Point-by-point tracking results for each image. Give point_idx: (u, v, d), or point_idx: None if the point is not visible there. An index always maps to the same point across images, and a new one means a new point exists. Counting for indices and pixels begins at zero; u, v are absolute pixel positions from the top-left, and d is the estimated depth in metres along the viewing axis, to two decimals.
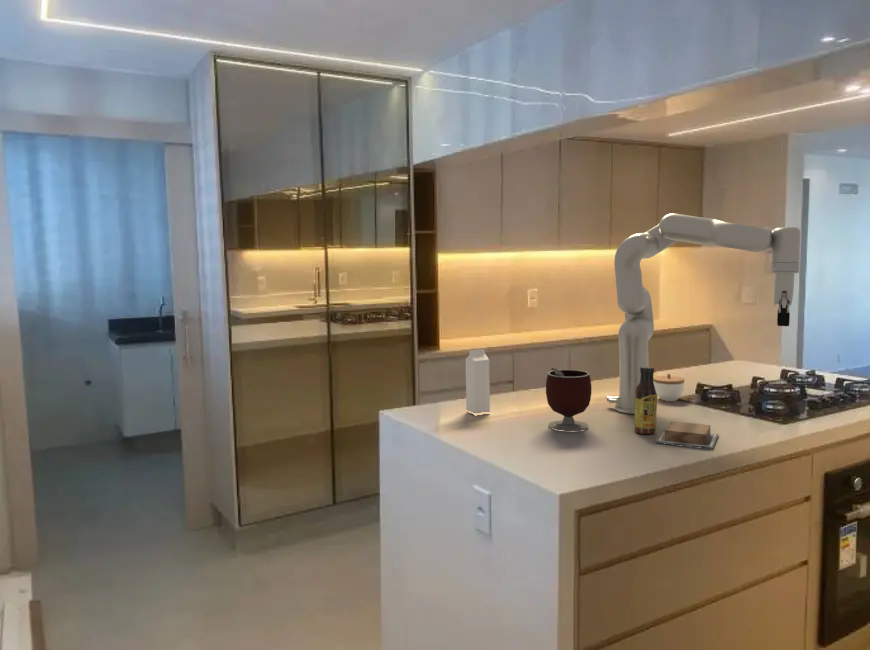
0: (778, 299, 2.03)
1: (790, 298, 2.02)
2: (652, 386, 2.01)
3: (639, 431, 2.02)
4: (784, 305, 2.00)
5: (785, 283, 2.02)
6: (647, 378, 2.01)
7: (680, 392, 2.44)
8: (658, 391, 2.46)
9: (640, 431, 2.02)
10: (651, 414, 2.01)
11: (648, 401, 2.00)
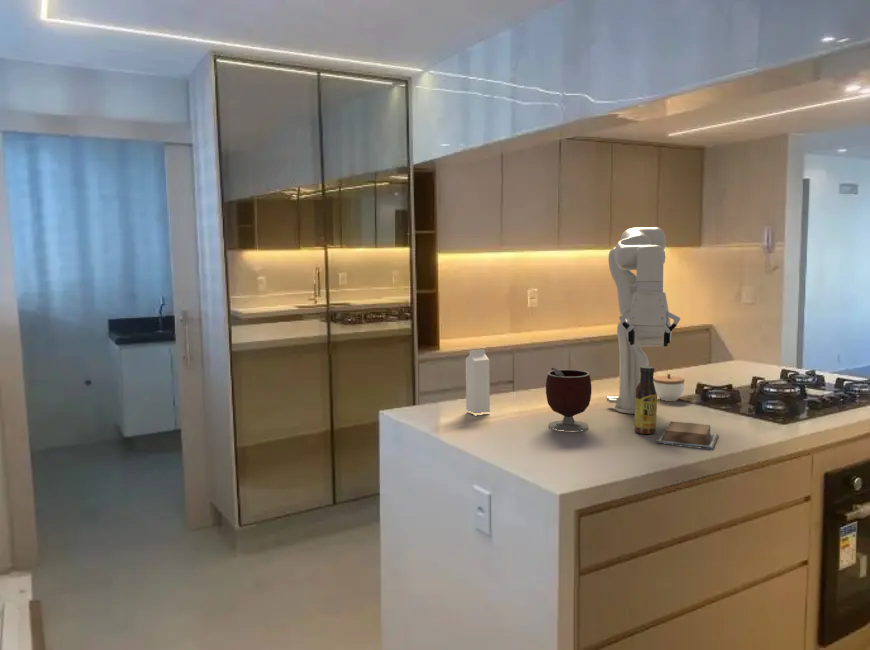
0: (666, 319, 1.97)
1: None
2: (652, 386, 2.01)
3: (639, 431, 2.02)
4: None
5: (666, 302, 1.98)
6: (647, 378, 2.01)
7: (680, 392, 2.44)
8: (658, 391, 2.46)
9: (640, 431, 2.02)
10: (651, 414, 2.01)
11: (648, 401, 2.00)
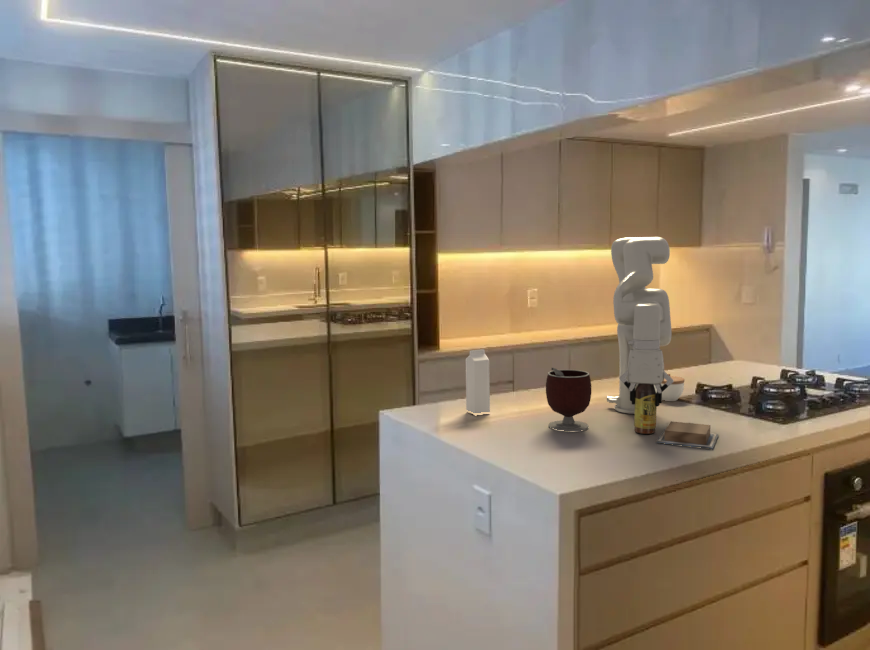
0: None
1: None
2: (652, 386, 2.01)
3: (639, 431, 2.02)
4: (668, 385, 2.00)
5: (663, 360, 2.00)
6: None
7: (680, 392, 2.44)
8: None
9: (640, 431, 2.02)
10: (651, 413, 2.01)
11: (648, 401, 2.00)
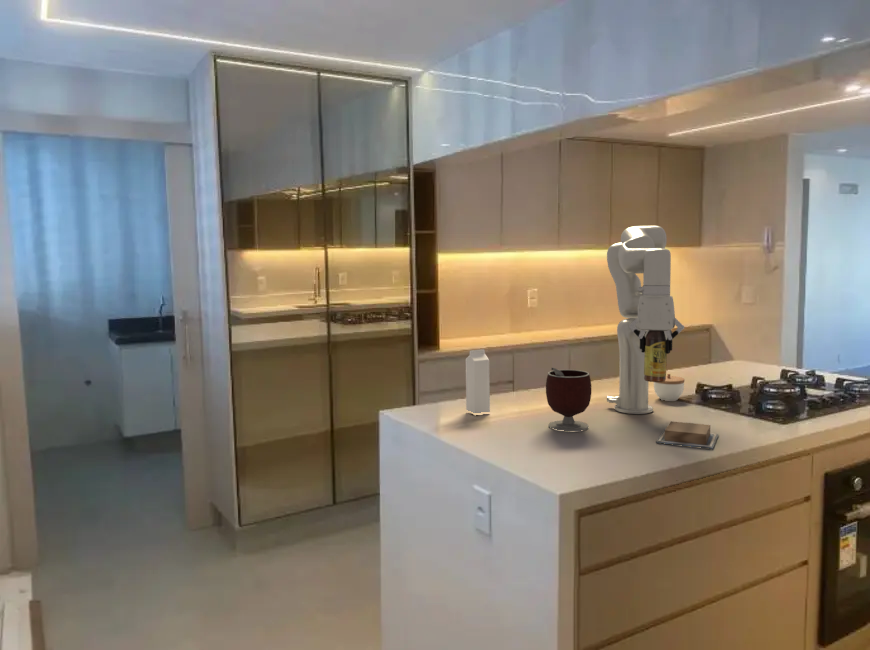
0: None
1: None
2: (662, 333, 1.97)
3: (649, 379, 1.99)
4: (679, 332, 1.96)
5: None
6: None
7: (680, 392, 2.44)
8: (658, 391, 2.46)
9: (650, 379, 1.98)
10: (661, 361, 1.97)
11: (658, 348, 1.97)
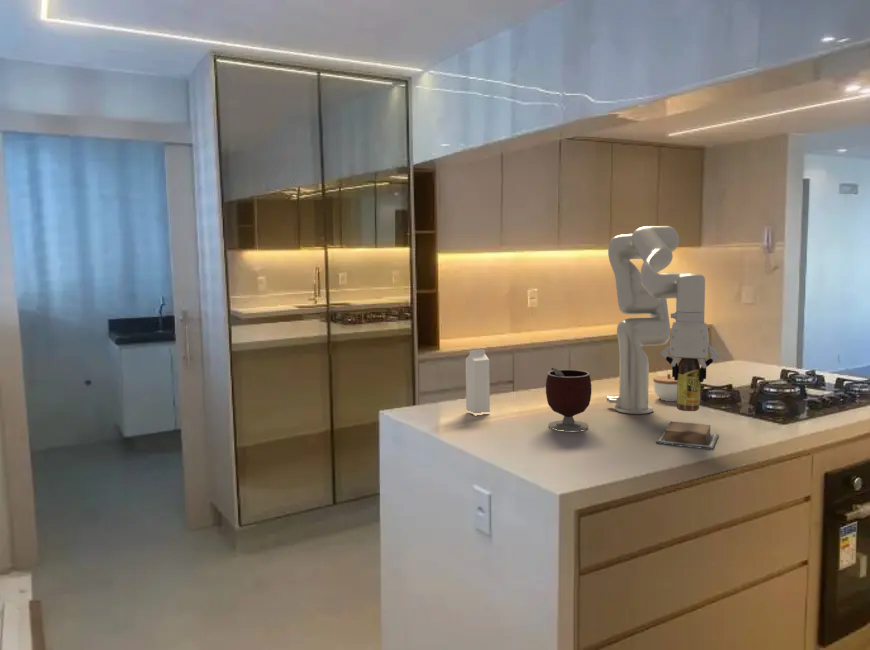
0: None
1: None
2: (696, 361, 1.91)
3: (682, 408, 1.92)
4: None
5: None
6: None
7: None
8: (658, 391, 2.46)
9: (683, 408, 1.92)
10: (695, 389, 1.91)
11: (692, 376, 1.91)
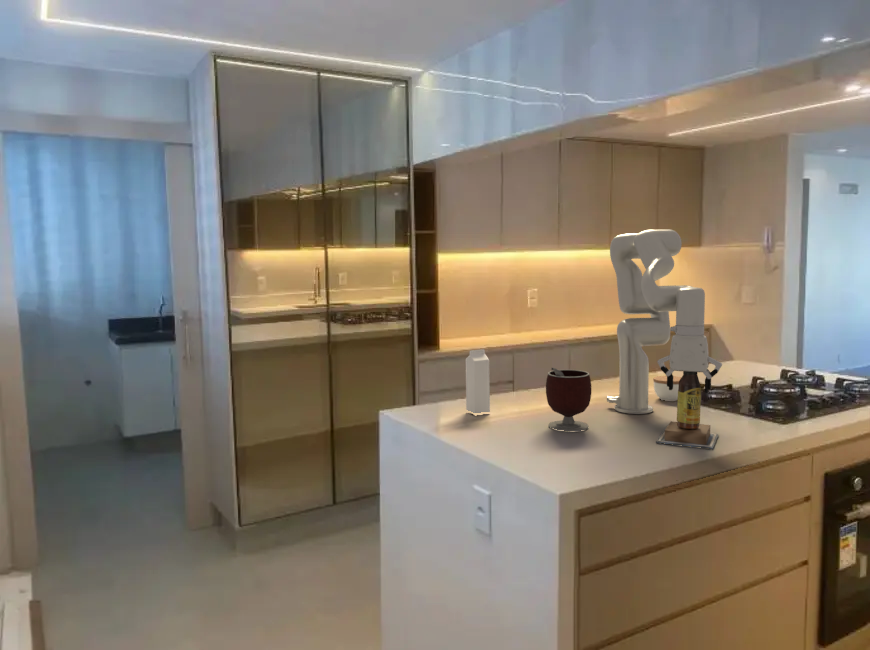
0: (707, 365, 1.90)
1: None
2: (696, 379, 1.92)
3: (682, 426, 1.93)
4: (718, 370, 1.90)
5: None
6: None
7: None
8: (658, 391, 2.46)
9: (683, 426, 1.93)
10: (695, 408, 1.92)
11: (692, 394, 1.91)
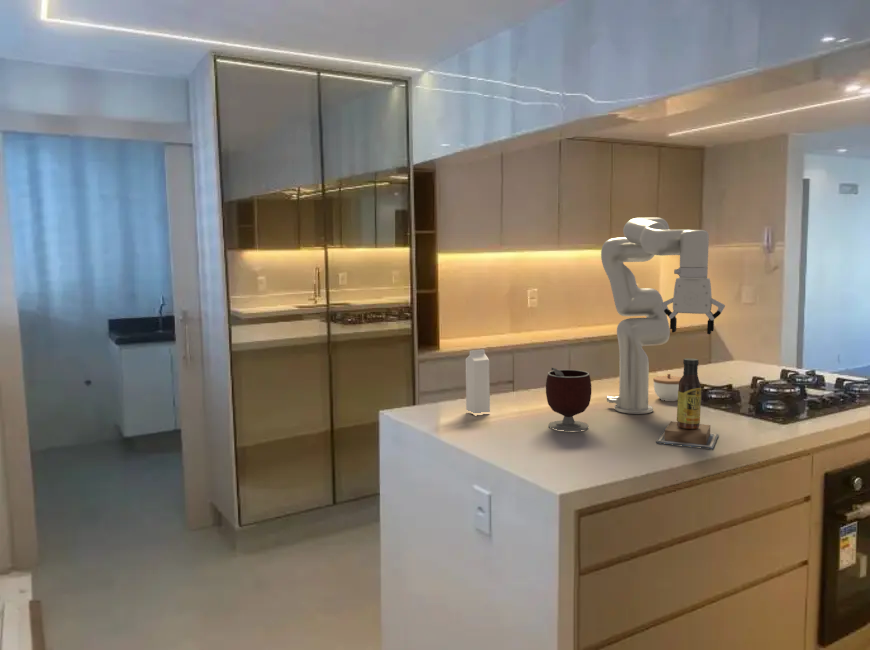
0: (710, 306, 1.92)
1: None
2: (696, 379, 1.92)
3: (682, 426, 1.93)
4: (721, 311, 1.92)
5: None
6: (691, 370, 1.92)
7: None
8: (658, 391, 2.46)
9: (683, 426, 1.93)
10: (695, 408, 1.92)
11: (692, 394, 1.91)
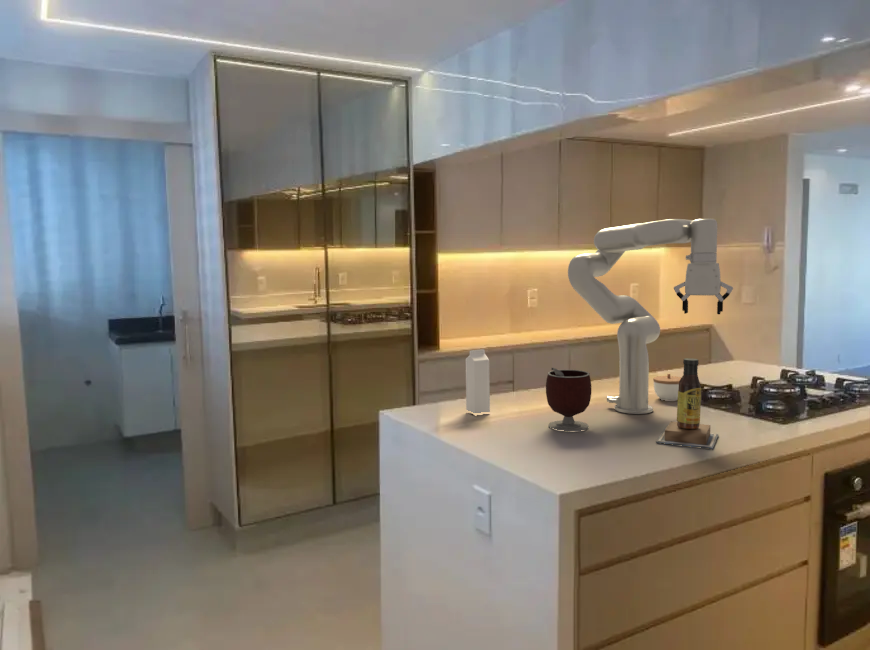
0: (719, 288, 2.09)
1: None
2: (696, 379, 1.92)
3: (682, 426, 1.93)
4: None
5: None
6: (691, 370, 1.92)
7: None
8: (658, 391, 2.46)
9: (683, 426, 1.93)
10: (695, 408, 1.92)
11: (692, 394, 1.91)
